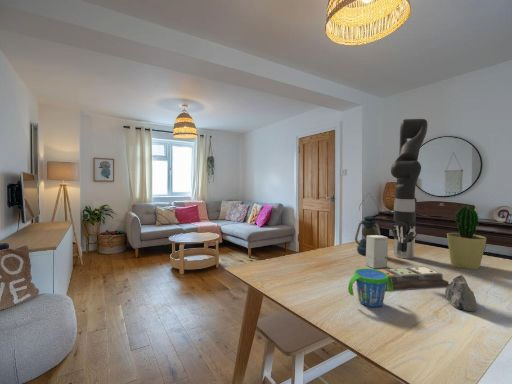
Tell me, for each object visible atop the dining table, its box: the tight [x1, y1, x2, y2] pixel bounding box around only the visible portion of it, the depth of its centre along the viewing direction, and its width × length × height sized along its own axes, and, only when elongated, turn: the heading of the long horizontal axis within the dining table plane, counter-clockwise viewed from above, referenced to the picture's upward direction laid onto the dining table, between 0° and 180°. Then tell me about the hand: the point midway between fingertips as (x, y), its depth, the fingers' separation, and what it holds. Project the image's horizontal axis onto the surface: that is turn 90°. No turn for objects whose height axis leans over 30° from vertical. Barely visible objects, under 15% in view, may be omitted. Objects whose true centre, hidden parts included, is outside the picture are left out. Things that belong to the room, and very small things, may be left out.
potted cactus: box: [446, 205, 487, 270], centre depth 130 cm, size 15×15×30 cm
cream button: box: [409, 266, 438, 274], centre depth 111 cm, size 7×7×2 cm
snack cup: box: [347, 268, 394, 308], centre depth 89 cm, size 16×10×10 cm
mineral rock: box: [444, 274, 479, 312], centre depth 89 cm, size 13×11×10 cm
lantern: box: [354, 192, 382, 257], centre depth 149 cm, size 14×12×35 cm
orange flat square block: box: [378, 268, 394, 276], centre depth 107 cm, size 7×7×2 cm
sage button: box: [388, 267, 417, 276], centre depth 109 cm, size 7×7×2 cm
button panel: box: [374, 266, 450, 291], centre depth 109 cm, size 14×30×4 cm, turn 100°
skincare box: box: [365, 234, 389, 269], centre depth 128 cm, size 8×6×15 cm
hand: (402, 251), depth 109 cm, fingers closed
